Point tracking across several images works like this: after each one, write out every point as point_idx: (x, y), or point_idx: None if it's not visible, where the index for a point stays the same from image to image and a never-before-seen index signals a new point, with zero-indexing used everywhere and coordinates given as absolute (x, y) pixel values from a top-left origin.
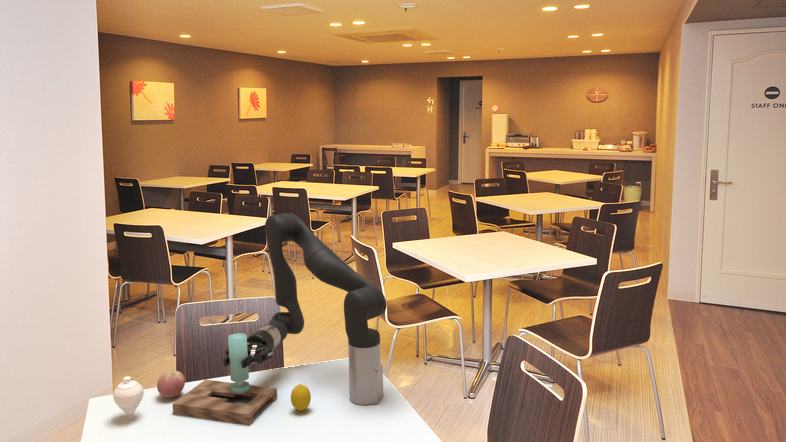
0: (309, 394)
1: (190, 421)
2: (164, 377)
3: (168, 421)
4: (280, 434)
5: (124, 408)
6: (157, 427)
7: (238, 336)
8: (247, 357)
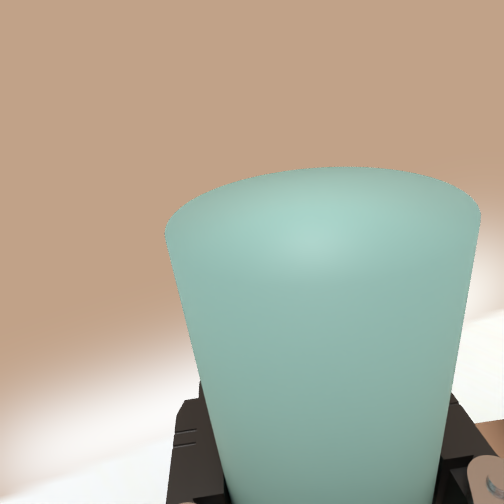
0: None
1: None
2: None
3: (495, 400)
4: (36, 493)
5: None
6: (475, 364)
7: (295, 210)
8: (208, 452)
